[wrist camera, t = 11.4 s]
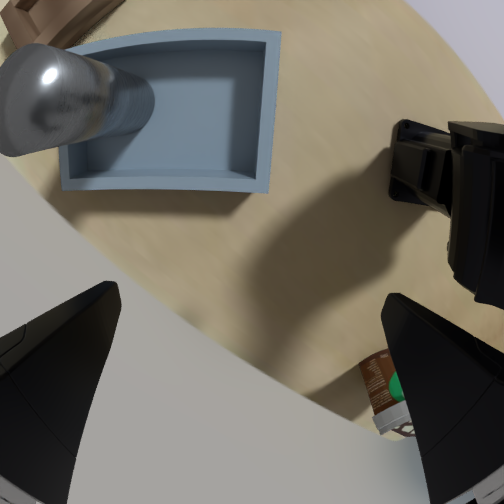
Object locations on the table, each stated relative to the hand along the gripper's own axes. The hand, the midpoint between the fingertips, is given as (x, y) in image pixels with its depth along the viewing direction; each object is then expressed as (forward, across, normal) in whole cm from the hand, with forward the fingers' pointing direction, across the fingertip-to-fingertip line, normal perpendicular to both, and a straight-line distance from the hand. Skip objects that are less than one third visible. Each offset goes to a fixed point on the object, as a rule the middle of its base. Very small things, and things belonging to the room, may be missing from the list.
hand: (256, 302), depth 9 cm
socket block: (+13, +16, -17) cm, 27 cm away
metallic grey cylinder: (+12, +9, -6) cm, 16 cm away
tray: (+13, +6, -6) cm, 16 cm away
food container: (+13, -19, +18) cm, 29 cm away
